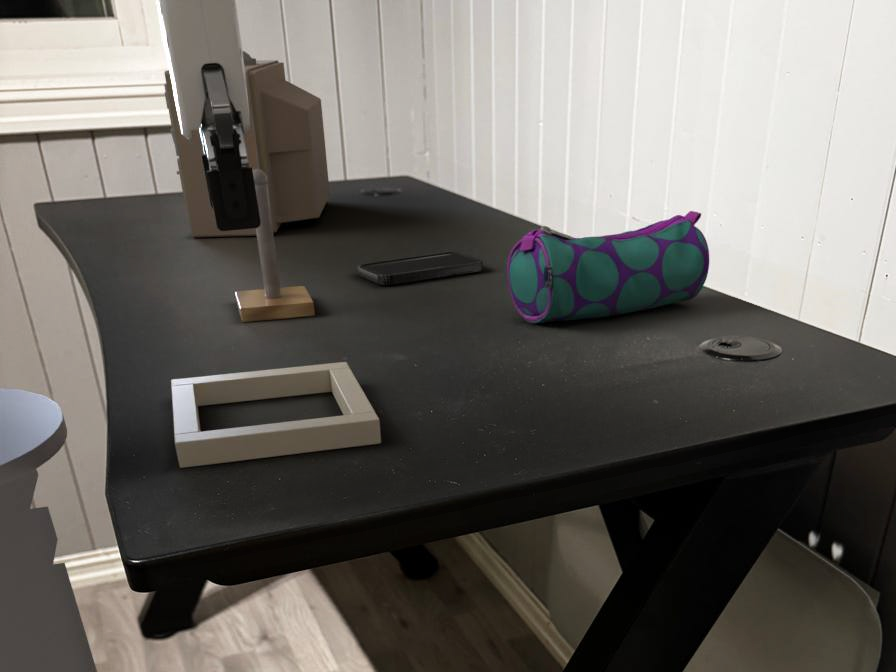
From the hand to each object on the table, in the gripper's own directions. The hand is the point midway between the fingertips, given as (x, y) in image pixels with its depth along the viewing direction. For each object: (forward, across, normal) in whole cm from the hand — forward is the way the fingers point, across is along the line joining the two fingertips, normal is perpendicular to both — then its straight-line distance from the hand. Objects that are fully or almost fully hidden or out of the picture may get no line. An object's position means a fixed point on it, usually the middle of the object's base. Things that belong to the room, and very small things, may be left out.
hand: (235, 217), depth 74 cm
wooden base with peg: (+15, -30, +4) cm, 34 cm away
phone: (+16, -42, +24) cm, 51 cm away
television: (+15, -93, +8) cm, 95 cm away
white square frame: (+15, +6, 0) cm, 16 cm away
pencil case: (+16, -16, +39) cm, 45 cm away
